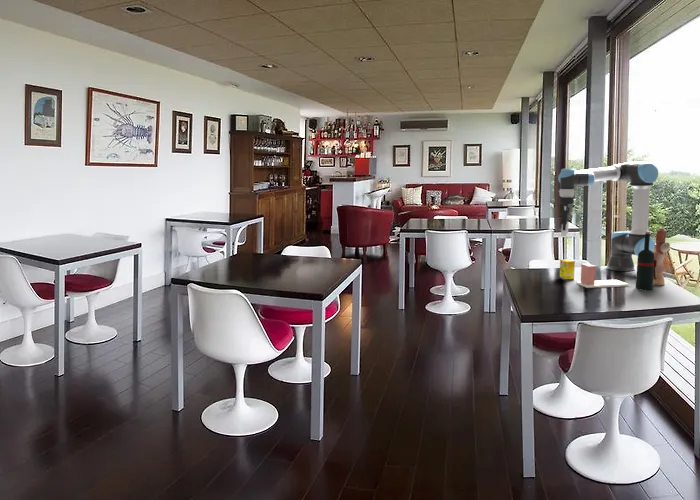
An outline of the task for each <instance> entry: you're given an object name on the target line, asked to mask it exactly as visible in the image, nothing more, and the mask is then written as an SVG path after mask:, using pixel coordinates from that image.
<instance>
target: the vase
mask: <svg viewBox="0 0 700 500" xmlns="http://www.w3.org/2000/svg"><path fill="white" fill-rule="evenodd" d="M666 235H667V229H665V228H657V230H656V236H655V249H654V250H652V252H653V253H654V255H655V256H654V260H656V261H657V262H656V267H655V277H656V279H654V277H653V286H656V285H658V286H660V285H663V286H665V283H666V282H665V277H664V274H663V261H664V259H665V257H666V252H668V251H669V250H670V248H671V243H670V242H668V241H666V237H667V236H666ZM658 286H657V287H658Z"/></svg>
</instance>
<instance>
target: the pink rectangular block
mask: <svg viewBox="0 0 700 500" xmlns="http://www.w3.org/2000/svg"><path fill="white" fill-rule="evenodd" d="M580 267H581V269H580V280H578V281H576V282H575V283H576V284H577V285H579V286H581V287H584V288H586V289H590V288H591V289H592V288H593V289H594V288H600V287H599V285H597V284H595V281H596V265H593V264H591V263H581V266H580Z"/></svg>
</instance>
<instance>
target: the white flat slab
mask: <svg viewBox="0 0 700 500" xmlns="http://www.w3.org/2000/svg"><path fill="white" fill-rule="evenodd" d="M595 284H597V285H599V287H598V288H615V287H617V288H618V287H629V286H630V285H629V283H627V282H624V281H621V280H618V279H605V280H595Z"/></svg>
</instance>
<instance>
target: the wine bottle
mask: <svg viewBox="0 0 700 500" xmlns="http://www.w3.org/2000/svg"><path fill="white" fill-rule="evenodd" d="M650 233H651V231H650V230H648V231H645V244H644V250H642V251H640V252H639V254H638V256H637V264H636V276H635V290H639V291H644V290H646V291H652V290H653V288H654V285H653V277H654V279H656V277H655V267H656V262H657V261H656V260H654V256H655V255H654V253H653V252H652V251H650V250H649V241H650ZM646 291H645V292H646Z"/></svg>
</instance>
